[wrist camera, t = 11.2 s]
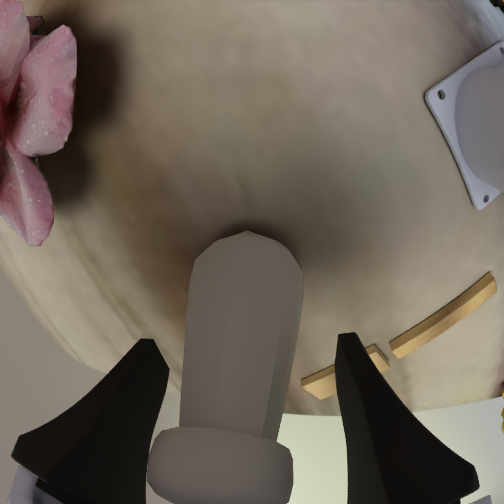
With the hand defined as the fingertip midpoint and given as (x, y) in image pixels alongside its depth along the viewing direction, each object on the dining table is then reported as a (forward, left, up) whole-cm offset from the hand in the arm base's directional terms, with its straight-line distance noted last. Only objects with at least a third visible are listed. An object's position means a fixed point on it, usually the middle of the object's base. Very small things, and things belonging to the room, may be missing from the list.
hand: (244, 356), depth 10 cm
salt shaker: (0, 0, -7) cm, 7 cm away
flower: (+4, -17, -7) cm, 19 cm away
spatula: (-4, +13, -7) cm, 15 cm away
